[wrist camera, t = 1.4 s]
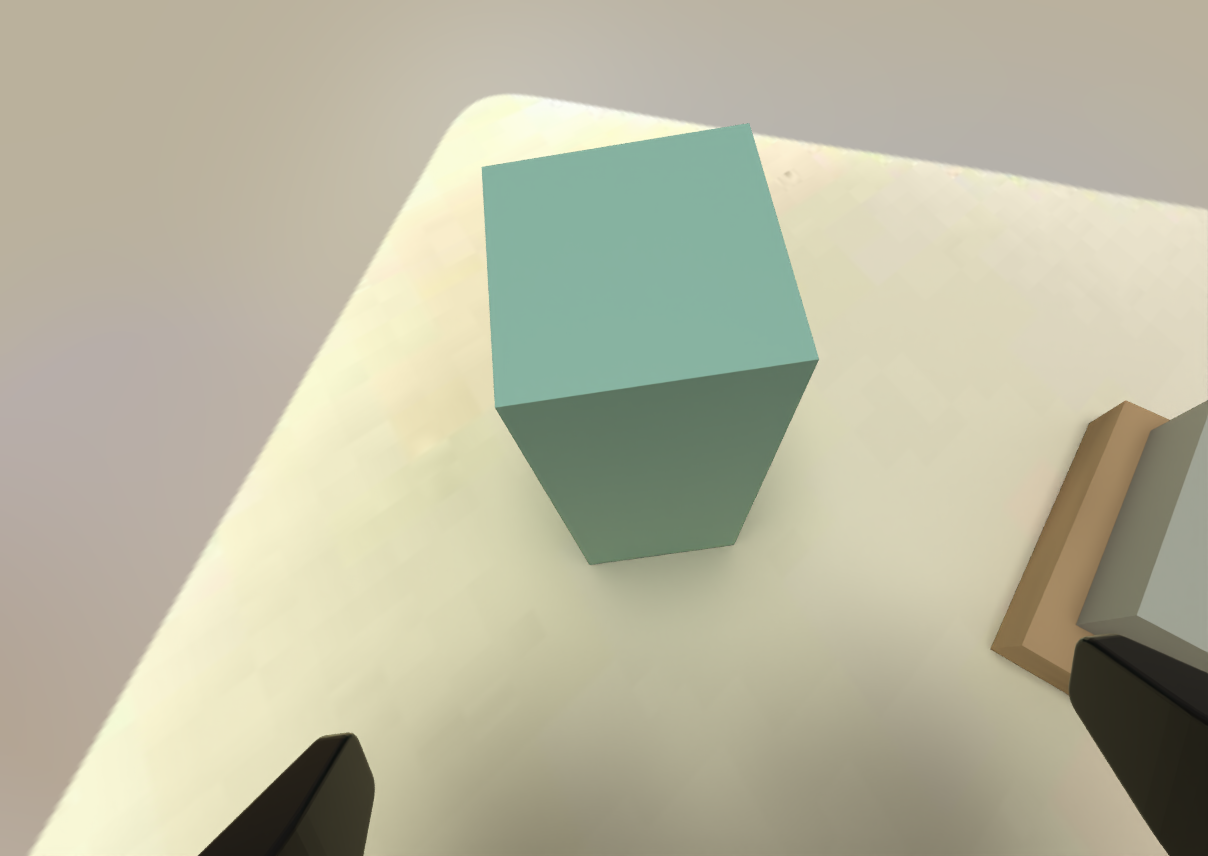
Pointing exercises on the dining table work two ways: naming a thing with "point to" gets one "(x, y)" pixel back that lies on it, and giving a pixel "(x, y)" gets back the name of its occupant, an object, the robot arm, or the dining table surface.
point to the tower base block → (1073, 546)
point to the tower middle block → (1160, 548)
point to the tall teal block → (645, 335)
